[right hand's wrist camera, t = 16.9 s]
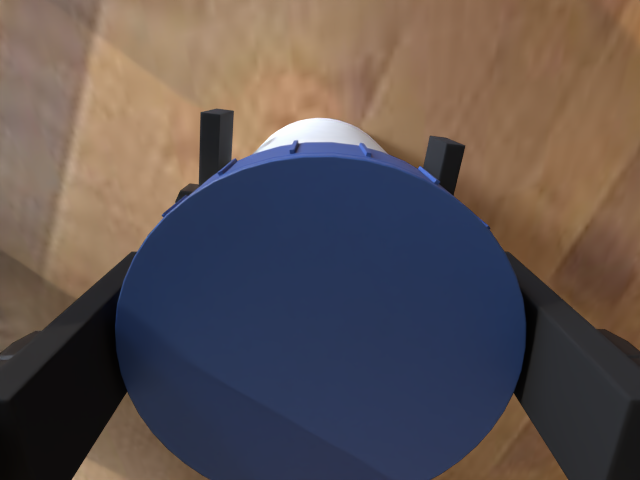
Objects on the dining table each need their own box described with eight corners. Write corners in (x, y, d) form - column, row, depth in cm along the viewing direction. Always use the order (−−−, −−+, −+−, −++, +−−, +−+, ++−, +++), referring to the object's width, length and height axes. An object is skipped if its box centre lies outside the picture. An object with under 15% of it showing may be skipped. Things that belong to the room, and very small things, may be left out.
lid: (206, 465, 14) (186, 532, 12) (94, 182, 11) (39, 206, 9) (501, 417, 13) (535, 479, 11) (476, 100, 10) (518, 104, 8)
